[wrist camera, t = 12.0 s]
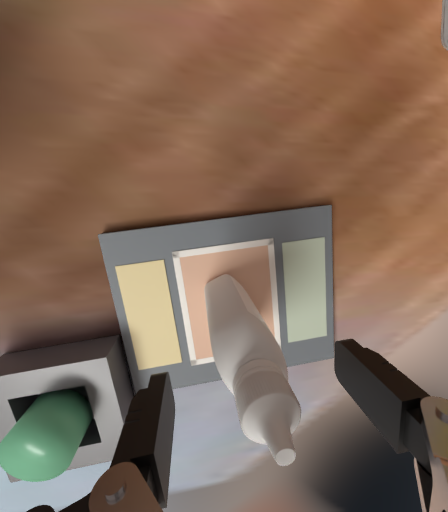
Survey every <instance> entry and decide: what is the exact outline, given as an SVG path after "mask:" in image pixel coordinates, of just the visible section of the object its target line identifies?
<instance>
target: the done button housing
mask: <svg viewBox="0 0 448 512" xmlns="http://www.w3.org/2000/svg"><path fill="white" fill-rule="evenodd" d="M62 389H68V390H72V391H75V392H78V393H80V394H81V395H83V396H84V397H85V398H86V399H87V400H88V401H89V402H90V404H91V408H92V411H93V417H92V420H91V423H90V425H89V427H88V429H87V431H86V433H85V435H84V437H83V439H82V441H81V443H80V445H79V447H78V450H77V452H76V454H75V456H74V458H73V460H72V462H71V464H70V466H69V467H68V468H67V469H66V470H71V469H76V468H80V467H85V466H89V465H94V464H98V463H103V462H108V461H112V460H113V456H114V453H115V450H116V447H117V444H118V441H119V437H120V434H121V431H122V428H123V425H124V422H125V419H126V415H127V414H128V409H129V406H130V403H131V400H132V399H133V397H134V393H133V389H132V385H131V381H130V377H129V372H128V368H127V364H126V360H125V356H124V352H123V348H122V343H121V339H120V335H116V336H110V337H104V338H98V339H92V340H86V341H80V342H74V343H68V344H62V345H56V346H50V347H44V348H38V349H32V350H27V351H21V352H15V353H9V354H3V355H2V356H1V357H0V443H1V441H2V440H3V438H4V437H5V436H6V435H7V434H8V432H9V431H10V430H11V429H12V428H13V426H14V425H15V424H16V423H17V422H18V420H19V419H20V418H21V417H22V415H23V414H24V413H25V412H26V411H27V409H28V408H29V407H30V406H31V405H32V403H33V402H34V401H35V400H36V399H37V398H38V397H39V396H40V395H42V394H43V393H46V392H51V391H57V390H62ZM6 473H7V472H6ZM7 475H8V478H9V480H10V482H16V481H20V480H21V479H17V478H15V477H13V476H11V475H10V474H8V473H7Z"/></svg>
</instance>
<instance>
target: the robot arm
mask: <svg viewBox="0 0 448 512" xmlns="http://www.w3.org/2000/svg"><path fill="white" fill-rule="evenodd" d="M334 368H335V374H336V376H337V379H338V381H339V382H340V383H341V385H342V386H343V387H344V388H345V390H346V391H347V392H348V393H349V395H350V396H351V397H352V398H353V400H354V401H355V402H356V403H357V405H359V407H360V408H361V409H362V411H363V412H364V413H365V414H366V416H367V417H368V418H369V419H370V421H371V422H372V423H373V424H374V426H375V427H376V428H377V429H378V430H379V432H380V433H381V434H382V435H383V437H384V438H385V439H386V440H387V442H388V443H389V444H390V445H391V446H392V448H393V449H394V450H395V451H396V453H397V454H399V453H403V452H407V451H410V452H411V453H412V455H413V456H414V467H415V472H416V478H417V483H418V488H419V495H420V500H421V506H422V511H423V512H448V400H447V399H444V398H441V397H435V396H430V395H428V394H427V393H426V392H425V391H424V390H422V389H421V388H420V387H419V386H418V385H416V384H415V383H414V382H413V381H411V380H410V379H409V378H408V377H407V376H405V375H404V374H403V373H402V372H400V371H399V370H397V368H396V367H394V366H393V365H392V364H389V362H388V361H387V360H386V359H385V358H383V357H382V356H381V355H380V354H378V353H376V352H374V351H372V350H370V349H368V348H363V347H362V346H361V345H360V344H358V343H357V342H356V341H355V340H353V339H347V340H341V341H336V342H335V360H334ZM174 419H175V402H174V396H173V391H172V386H171V381H170V376H169V372H163V373H157V374H152V375H151V376H150V380H149V384H148V388H145V389H140V390H139V391H138V392H137V393H136V395H135V396H134V397H133V399H132V400H131V403H130V406H129V409H128V414H127V415H126V419H125V422H124V425H123V428H122V431H121V434H120V437H119V441H118V444H117V447H116V450H115V453H114V456H113V460H112V463H111V466H110V468H109V469H108V470H107V471H106V472H105V473H104V474H103V475H102V476H101V477H100V478H99V479H98V481H97V482H96V484H95V485H94V487H93V489H92V491H91V492H90V493H89V494H88V495H87V496H85V497H83V498H82V499H80V500H78V501H77V502H75V503H73V504H71V505H70V506H68V507H66V508H64V509H62V510H61V511H59V512H163V511H162V508H166V507H167V497H168V486H169V475H170V464H171V453H172V442H173V431H174ZM27 512H55V511H54V509H53V508H52V507H51V506H48V505H41V506H37V507H34V508H32V509H30V510H28V511H27Z"/></svg>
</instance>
